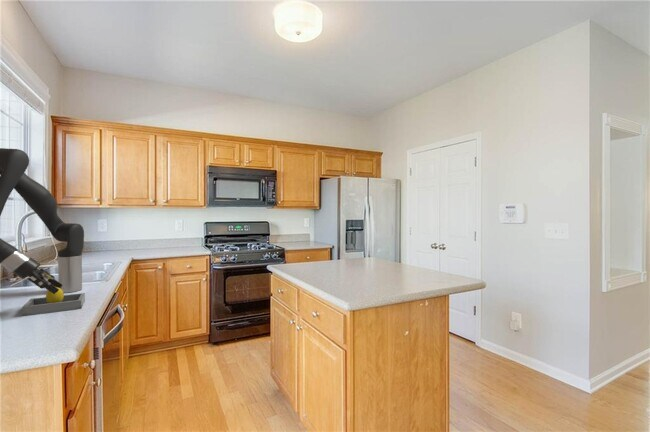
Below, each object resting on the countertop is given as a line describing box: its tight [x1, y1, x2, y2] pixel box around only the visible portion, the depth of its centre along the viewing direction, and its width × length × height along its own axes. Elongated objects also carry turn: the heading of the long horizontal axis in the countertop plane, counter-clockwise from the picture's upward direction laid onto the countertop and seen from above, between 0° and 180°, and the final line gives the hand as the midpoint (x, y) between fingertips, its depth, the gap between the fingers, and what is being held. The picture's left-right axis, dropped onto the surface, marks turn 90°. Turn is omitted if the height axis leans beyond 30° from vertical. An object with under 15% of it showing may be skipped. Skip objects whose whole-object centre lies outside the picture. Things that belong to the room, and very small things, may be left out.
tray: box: [21, 292, 86, 317], centre depth 132 cm, size 13×18×3 cm
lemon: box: [45, 287, 65, 303], centre depth 132 cm, size 6×6×8 cm
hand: (58, 289), depth 132 cm, fingers open, 8 cm apart
